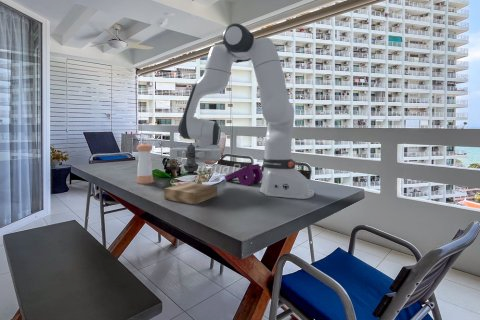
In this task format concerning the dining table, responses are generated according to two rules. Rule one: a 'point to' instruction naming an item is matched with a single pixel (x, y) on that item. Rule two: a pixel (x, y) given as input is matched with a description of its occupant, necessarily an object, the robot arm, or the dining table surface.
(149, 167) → the salt shaker
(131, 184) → the dining table surface
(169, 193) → the stand
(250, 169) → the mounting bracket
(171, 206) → the dining table surface
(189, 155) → the dark grey upright piece
